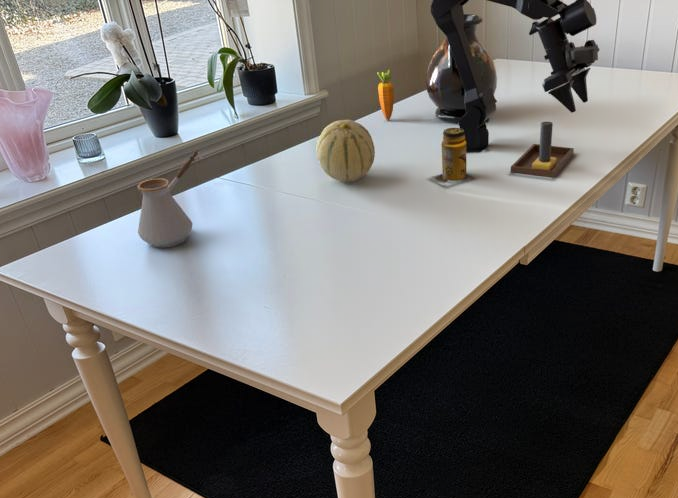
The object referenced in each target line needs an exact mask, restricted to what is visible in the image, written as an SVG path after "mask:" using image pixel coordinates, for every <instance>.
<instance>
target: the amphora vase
mask: <svg viewBox="0 0 678 498" xmlns="http://www.w3.org/2000/svg"><path fill="white" fill-rule="evenodd" d="M483 22H484V18H483V17H482V16H481V15H479V14H470V13H464V25H463V27H464V31H465V34H466V37H467V40H468V43H469V46H470V49H471V52H472V55H473V58H474V61H475V64H476V67H477V70H478V73H479V76H480V79H481V82H482V84H483V85H484V86H485V87H486V88H487V89H489V88H490V87H492V89H493V94H494V95H495V93H496V90H497V87H498V86H497V84H498V74H497V68H496V65H495V61H494V59H493V57H492V56H491V54H490V52H489V51H488V50H487V49H486V48H485V46H484V45H483V44H482V43H481V42H480V40H479V38H478V36H477V27H478V26H479V25H481V24H482V23H483ZM426 70H427V71H426V76H425V86H426V92H427V94H428V97H429V99H430V101H431V102H432V103H433V104H434V105H435V106H436V109H435V111H434V113H435V116H436V118H437V119H438V120H440V121H443V122H446V123H452V124H458V121H459V120H460V119H461V118H462V117H463V116H464V115H465V114H466V109H465V89H464V86H463V83H462V80H461V77H460V75H459V72H458V69H457V66H456V63H455V60H454V57H453V54H452V52H451V49H450V46H449V43H448V40H447V37H446V36H445V38H444V40H443V41H442V43H441V44H440V46H439V47H438V49H437V50H436V51H435V52H434V54H433V55H432V57H431V59H430V61H429V63H428V67H427V69H426Z"/></svg>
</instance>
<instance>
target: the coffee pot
mask: <svg viewBox="0 0 678 498" xmlns="http://www.w3.org/2000/svg"><path fill="white" fill-rule="evenodd" d="M198 154H199V155H200V157H199V155H198ZM201 156H202V157H201ZM195 158H197V159H200V160H201V159H203V158H204V155H203V154H202V153H201V152H199V151H198V150H195V151H194V152H193V153H192V155H189V156H188V160H187V161H186V162H184V163H183V165H182V166H181V168H180V169H179V171H178V172H177V174H176V175H175V177H174V179H173V180H172V181H171V182H170V181H169V180H168V179H167V178H151V179H147V180H144V181H141V182H140V183H139V184H137V187H136V188H137V190H138V191H140V192H141V194H142V202H141V208H140V215H139V222H138V227H137V229H138V230H137V234H138V236H139V238H140V239H141V240H142V241H144V243H146V244H148V245H151V246H152V247H154V248H161V249H162V248H171V247H176V246H177V245H180V244H182V243H184V242H185V241H186V240H187V238H188V237H189V236H190V234H191V232H192V230H193V222H192V220H191V219H190V217H189V216H188V215H187V214H186V212H185V211H184V210H183V208H182V207H181V206H180V204H179V203H178V202H177V201H176V199H175V198H174V197H173V195H172V194H171V193H170V192H171V191H172V189H173V188H174V187H175V185H176V184H177V183H178V182H179V180H180V179H181V178H182V177H183V175H184V174H185V173H186V172H188V171H187V170H188V169H189V168H190V167H191V164H193V163H192V162H194V161H195Z"/></svg>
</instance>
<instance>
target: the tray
mask: <svg viewBox="0 0 678 498" xmlns="http://www.w3.org/2000/svg"><path fill="white" fill-rule="evenodd" d="M539 150H540V143H539V144H538V143H537V144H536V143H533V144H532V145H531V146H530V147H529V148H528V149H527V150H526V151H524V153H523V154H522V155H521V156H520V157H518V159H517V160H516V161H515V162H514V163H513V164H512V165H510V173H512V174H518V175H525V176H535V177H542V178H550V179H554V177H555V176H556V175H557V174H558V173H559V172H560V170H561V169H562V168H563V167H564V166H565V165H566V164H567V162H568V161H569V160H570V159H571V158H572V157H573V155H574V152H575V148H574V147H565V146H558V145H551V157H556V158H557V159H556V166H555V167H554V168H553V170H552V171H551V170H543V169H535V168H532V163H533V162H534V161H535V160H536V159H537V158H538V157H539Z"/></svg>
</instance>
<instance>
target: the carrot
mask: <svg viewBox="0 0 678 498" xmlns="http://www.w3.org/2000/svg"><path fill="white" fill-rule="evenodd" d="M391 72H392V71H391V69H387V72H383V71H382V72H380V71H378V72H377V73H376V74H377V76H378V77H379V79H380V80H381V82H379V84H378V86H377V90H378V100H379V105H380V109H381V112H382V115H383V116H384V118H385V120H386V121H387V122H389V121H390V120H391V118H392V116H393V111H394V103H395V91H394V90H395V89H394V83H393V82H391V81H389V80H390V79H391V77H392V76H391Z"/></svg>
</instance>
